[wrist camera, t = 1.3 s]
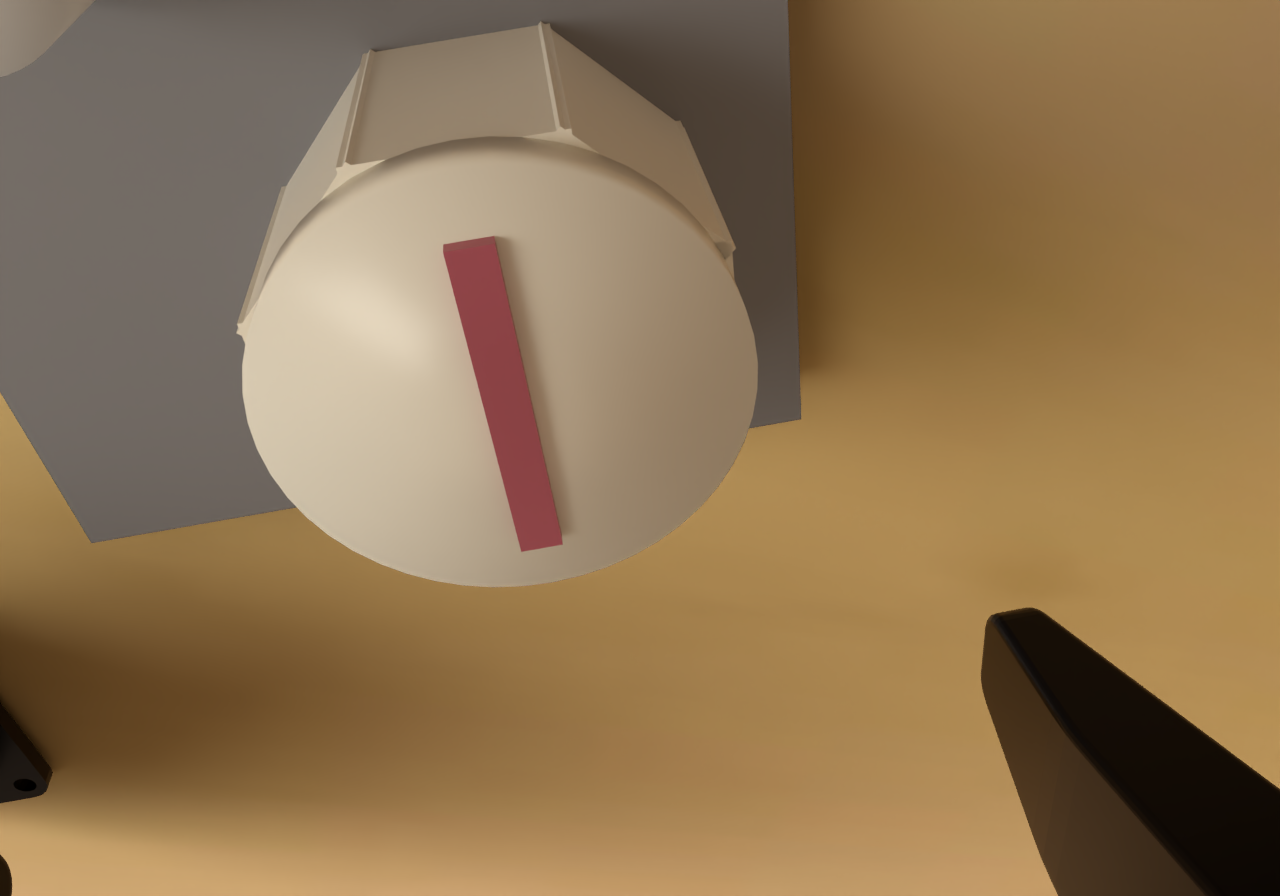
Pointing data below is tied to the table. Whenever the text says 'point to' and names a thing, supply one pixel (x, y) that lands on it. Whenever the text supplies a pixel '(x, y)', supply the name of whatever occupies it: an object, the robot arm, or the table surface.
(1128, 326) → the table surface
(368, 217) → the knob
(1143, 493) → the table surface
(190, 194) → the board
